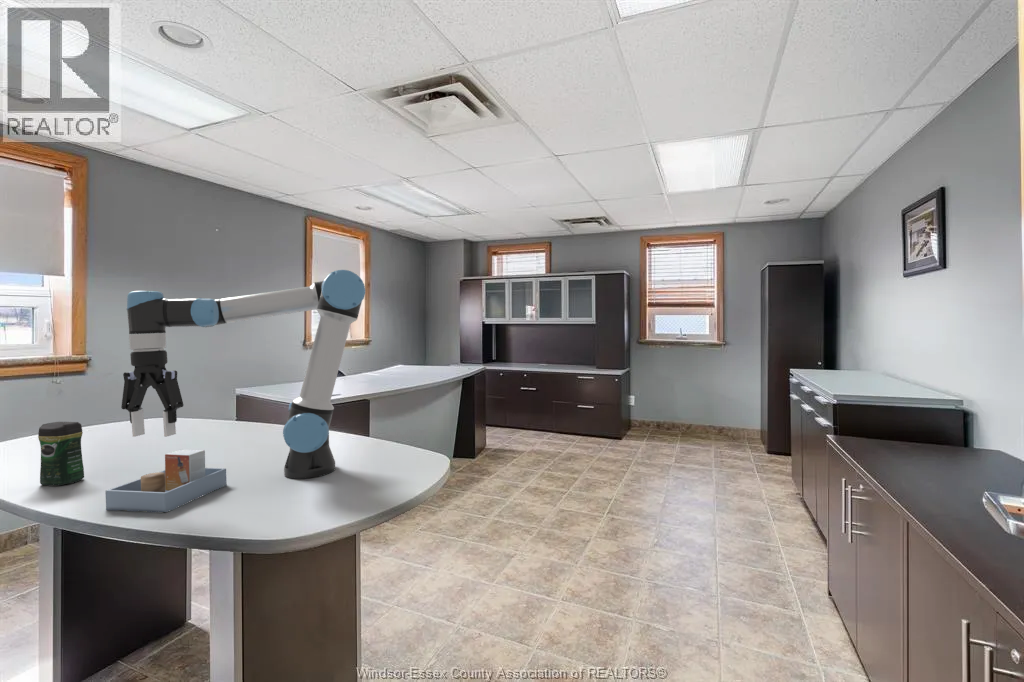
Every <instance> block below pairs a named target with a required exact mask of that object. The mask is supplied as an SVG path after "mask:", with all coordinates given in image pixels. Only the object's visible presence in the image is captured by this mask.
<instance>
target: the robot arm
mask: <svg viewBox="0 0 1024 682" xmlns="http://www.w3.org/2000/svg"><path fill="white" fill-rule="evenodd" d="M365 286H366V285H365V283H364V281H363V279H362V278H361V277H360V276H359V275H358V274H356V272H353V271H351V270H348V269H336V270H334V271H331V272H329V274H327V275H326V277H325V278H324V279H323V280H322V281H315V282H313V283H311V285H310V286H303V287H296V288H290V289H282V290H276V291H275V290H274V291H268V292H267V291H266V292H260V293H253V294H245V295H239V296H232V297H225V298H217V299H213V298H202V297H198V298H165V297H164V293H163V292H161V291H157V290H155V291H154V290H134V291H130V292H129V293H128V294H127V295H126V296H127V297H126V311H127V321H128V334H129V335H128V340H129V341H128V342H129V349H130V350H131V352H130V354H129V355H130V365H131V366H133V367H134V370H133V371H126V372H123V373H122V375H123V380H124V382H123V390H122V399H121V410H126V411H128V412H129V421H130V424H131V429H132V431H131V433H132V437H133V438H135V437H140V436H143V435H145V434H146V431H145V417H144V409H143V407H142V405H143V401H144V399H145V396H146V394H147V391H148V389H149V388H150V387H152V389H153V390H155V392H156V394H157V396H158V398H159V399H160V402H161V404H162V405H163V408H164V410H163V411H162V420H163V434H164V435H163V436H164V437H170V436H174V435H177V430H176V423H177V422H178V418H177V410H178V409H180V408H183V407H184V401H183V397H182V394H181V389H180V385H179V381H178V371H177V370H167V368H166V365H167V364H168V352H167V350H164V349H166V348H167V335H166V333H167V332H166V329H167V328H172V327H176V328H177V327H186V328H187V327H199V328H200V327H201V328H211V327H215V326H219V325H225V324H230V323H237V322H244V321H250V320H256V319H262V318H263V319H265V318H269V317H276V316H281V315H282V316H283V315H290V314H294V313H301V312H302V313H303V312H308V311H309V312H310V311H315V310H316V311H317V313H318V315H319V321H318V325H317V329H316V332H315V333H316V334H315V336H314V341H313V344H312V347H311V351H310V354H309V355H310V356H309V359H308V363H307V366H306V371H305V375H304V378H303V380H302V381H303V382H302V386H301V389H300V393H299V396H297V397H295V398H293V400H292V401H291V402H290V403H289V404H288V411H287V412H288V416H287V419H286V420H287V421H286V423H285V424H284V425H283V428H282V429H283V430H282V435H283V439H284V442H285V444H286V446H288V447H289V451H288V454H287V458H286V461H285V465H284V466H283V467H284V468H283V474H284V477H286V478H289V479H295V480H296V479H312V478H316V477H317V476H318V477H321V475H322V476H325V475H328V474H331V473H332V472H334V471H335V470H336V459H335V457H334V455H333V453H332V450H331V446H330V426H331V422H332V418H333V414H334V410H335V407H334V405H333V404H332V396H333V393H334V388H335V384H336V382H337V377H338V373H339V369H340V366H341V361H342V358H343V354H344V350H345V347H346V342H347V338H348V336H349V332H350V331H349V330H350V327H351V324H353V323H354V322H356V321H358V318H359V314H360V310H361V306H362V302H363V300H364V299H365V296H366V287H365ZM166 327H167V328H166ZM334 469H335V470H334ZM333 470H334V471H333ZM327 473H328V474H327ZM324 474H325V475H324Z"/></svg>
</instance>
